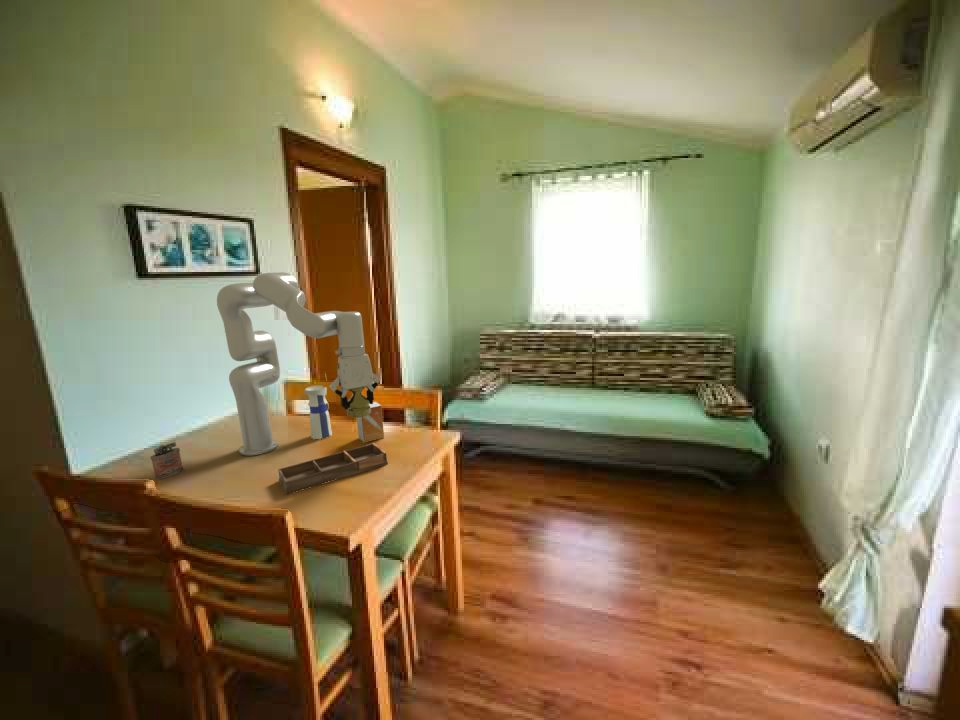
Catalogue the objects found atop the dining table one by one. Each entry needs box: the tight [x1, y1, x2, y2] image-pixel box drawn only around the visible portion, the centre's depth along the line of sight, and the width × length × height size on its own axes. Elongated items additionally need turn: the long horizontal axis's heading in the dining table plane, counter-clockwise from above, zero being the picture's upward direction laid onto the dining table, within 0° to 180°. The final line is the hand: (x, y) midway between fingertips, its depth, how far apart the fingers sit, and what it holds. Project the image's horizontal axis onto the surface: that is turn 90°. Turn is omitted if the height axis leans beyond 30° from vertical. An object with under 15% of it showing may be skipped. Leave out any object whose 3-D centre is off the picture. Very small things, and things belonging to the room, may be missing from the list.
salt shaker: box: [346, 387, 371, 419], centre depth 139 cm, size 7×7×10 cm
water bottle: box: [304, 373, 333, 440], centre depth 167 cm, size 8×8×25 cm
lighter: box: [150, 442, 184, 480], centre depth 140 cm, size 8×3×10 cm, turn 148°
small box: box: [356, 401, 385, 444], centre depth 163 cm, size 8×6×13 cm
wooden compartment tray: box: [277, 442, 389, 495], centre depth 137 cm, size 11×31×4 cm, turn 125°
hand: (358, 405), depth 139 cm, fingers closed on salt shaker, 7 cm apart
